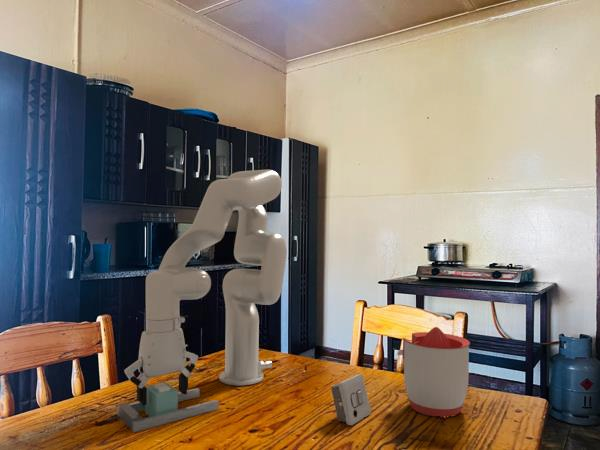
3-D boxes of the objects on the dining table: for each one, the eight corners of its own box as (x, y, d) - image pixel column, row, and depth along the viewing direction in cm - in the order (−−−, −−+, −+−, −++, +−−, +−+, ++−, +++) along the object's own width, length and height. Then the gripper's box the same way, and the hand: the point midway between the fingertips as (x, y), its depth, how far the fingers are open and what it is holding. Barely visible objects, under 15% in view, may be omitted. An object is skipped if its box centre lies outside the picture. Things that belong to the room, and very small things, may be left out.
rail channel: (197, 395, 116) (197, 385, 116) (218, 409, 108) (218, 398, 108) (117, 415, 103) (117, 404, 103) (133, 432, 95) (134, 420, 95)
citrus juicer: (409, 391, 122) (410, 317, 122) (476, 406, 112) (477, 325, 112) (385, 409, 109) (386, 326, 109) (458, 428, 99) (459, 337, 99)
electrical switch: (350, 427, 99) (347, 384, 99) (331, 423, 102) (328, 381, 103) (371, 414, 106) (369, 374, 107) (353, 411, 109) (350, 372, 110)
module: (165, 407, 109) (165, 379, 109) (177, 417, 103) (177, 388, 103) (144, 412, 105) (145, 384, 105) (156, 422, 100) (156, 392, 100)
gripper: (190, 316, 113) (190, 384, 113) (119, 327, 102) (120, 402, 102) (204, 322, 107) (204, 393, 107) (130, 334, 96) (131, 413, 97)
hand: (163, 397), depth 105 cm, fingers open, 9 cm apart
